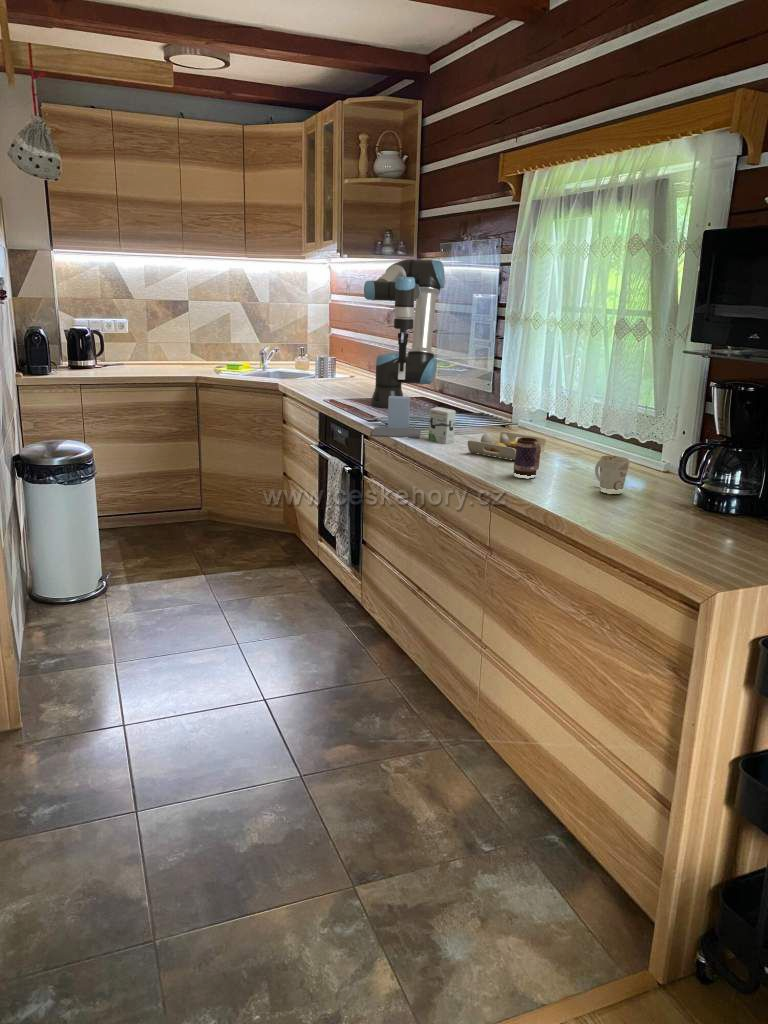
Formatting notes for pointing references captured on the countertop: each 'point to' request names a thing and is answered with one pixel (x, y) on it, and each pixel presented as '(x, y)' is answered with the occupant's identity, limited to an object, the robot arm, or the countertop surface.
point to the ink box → (442, 425)
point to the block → (398, 412)
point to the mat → (396, 432)
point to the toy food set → (501, 445)
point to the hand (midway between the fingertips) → (401, 379)
